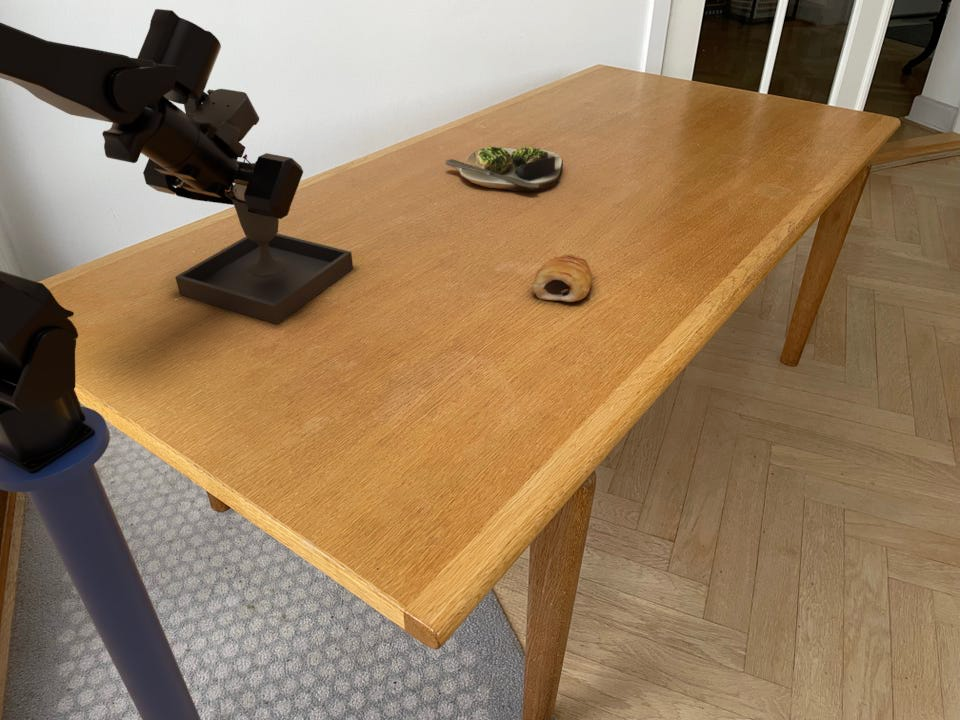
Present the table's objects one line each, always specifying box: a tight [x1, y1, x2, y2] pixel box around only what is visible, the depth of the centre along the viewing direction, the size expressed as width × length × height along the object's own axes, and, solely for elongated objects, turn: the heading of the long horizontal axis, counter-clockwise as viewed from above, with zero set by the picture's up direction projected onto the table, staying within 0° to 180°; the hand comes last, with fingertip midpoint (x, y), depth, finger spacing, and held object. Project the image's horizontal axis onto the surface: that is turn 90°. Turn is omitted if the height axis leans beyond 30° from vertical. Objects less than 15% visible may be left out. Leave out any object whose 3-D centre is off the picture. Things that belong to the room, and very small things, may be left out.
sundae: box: [225, 153, 288, 277], centre depth 86 cm, size 7×7×15 cm
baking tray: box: [175, 233, 354, 325], centre depth 91 cm, size 15×15×2 cm
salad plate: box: [444, 145, 564, 193], centre depth 120 cm, size 19×18×5 cm
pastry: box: [531, 253, 593, 303], centre depth 90 cm, size 9×7×4 cm
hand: (265, 206), depth 87 cm, fingers closed on sundae, 6 cm apart
